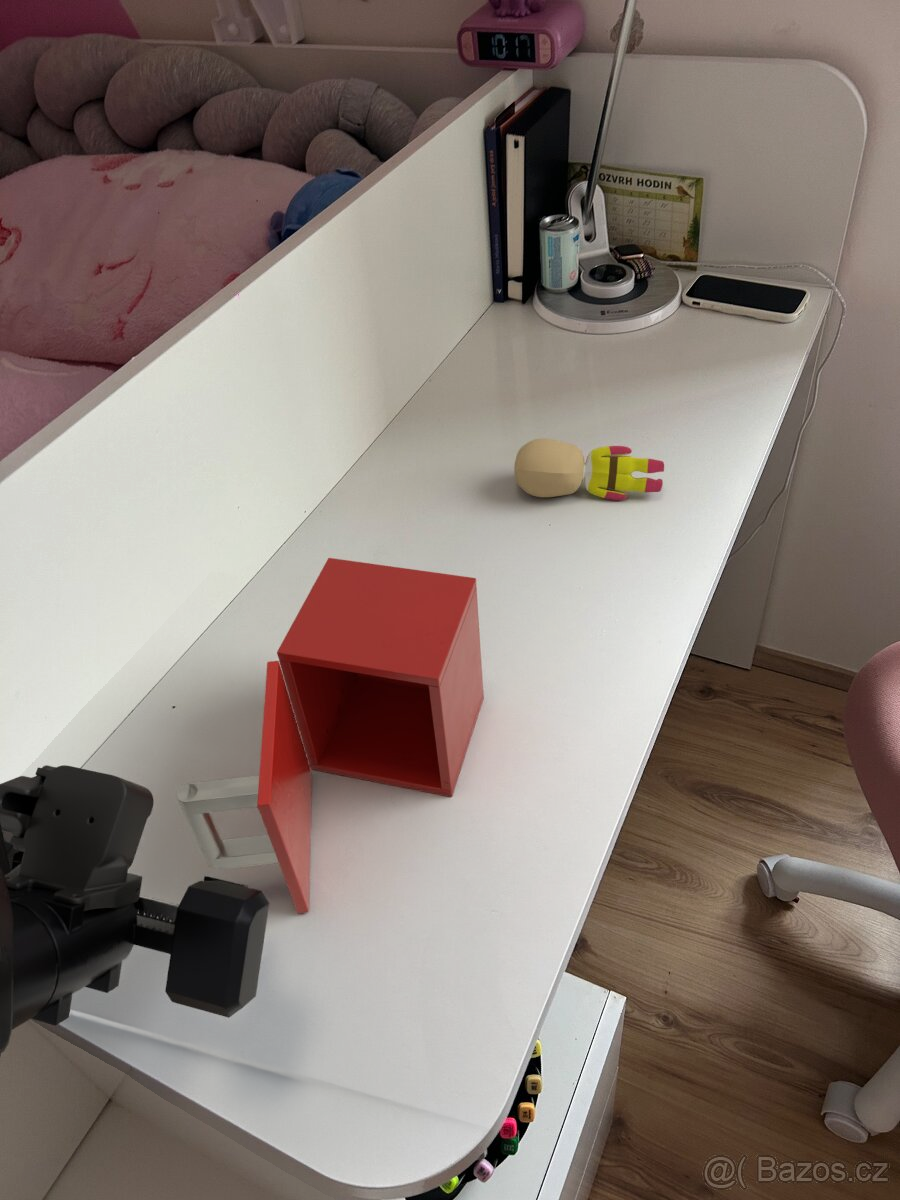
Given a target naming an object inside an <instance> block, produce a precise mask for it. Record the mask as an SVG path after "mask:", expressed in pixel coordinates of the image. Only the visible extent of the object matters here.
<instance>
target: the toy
mask: <svg viewBox="0 0 900 1200" xmlns="http://www.w3.org/2000/svg"><path fill="white" fill-rule="evenodd" d="M631 453H632V448H630V447H629V446H624V445H608V446H607V445H606V446H601V447H598V448H594V449H592V450H591V451H590V452H589V453H588V455H587V456H586V460H585V457H584V454H583V452H582V450H581V448H580V447H579V446H577V445H575V444H573V443H569V442H563V441H561V440H557V439H551V438H535V439H533V440H530V441H528V442H527V443H525V444H524V445H522V446H521V447H520V448H519V450H518V451H517V453H516V457H515V461H514V467H513V468H514V469H513V471H514V478H515V482H516V484H517V485H518V486H519V487H520V489H522V490H523V492H525V493H527V494H528V495H530V496H533V497H537V498H553V497H560V496H568V495H572V494H574V493H576V492H577V491H578V490H579V489H580V487H581V486H582V483H584V487H585V489H586V491H587V492H589V494H591V495H594V496H596V497H599V498H602V499H607V500H613V501H622V500H625V499H627V497H628V494H627V493H626V492H640V493H660V492H661V491H662V489H663V484H664V481H663V479H661V478H657V479H655V478H651V477H634V476H633V475H632V474H633V473H634V472H640V473H645V474H655V473H664V472H665V461H663V460H659V459H654V458H645V457H635V456H631V455H630V454H631Z"/></svg>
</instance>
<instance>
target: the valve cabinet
mask: <svg viewBox="0 0 900 1200" xmlns="http://www.w3.org/2000/svg"><path fill="white" fill-rule="evenodd" d="M324 563H325V564H324V565H323V567H322V569H321V571H320V572H319V575H318V576H317V578H316V580H315V582H314V583H313V585H312V587H311V589H310V591H309V593H308V594H307V596H306V598H305V600H304V602H303V604H302V605H301V607H300V609H299V611H298V613H297V615H296V616H295V618H294V620H293V622H292V624H291V626H290V627H289V629H288V631H287V632H286V635H285V636H284V639H282V642H281V644H280V646H279V647H278V649H277V651H276V654H277V658H278V661H279V664H280V667H281V671H282V674H283V677H284V681H285V684H286V688H287V691H288V695H289V698H290V701H291V705H292V708H293V712H294V715H295V719H296V722H297V726H298V729H299V732H300V736H301V739H302V743H303V746H304V750H305V753H306V756H307V760H308V763H309V767H310V770H314V771H319V772H324V773H329V774H333V775H339V776H344V777H348V778H355V779H359V780H364V781H369V782H373V783H380V784H385V785H390V786H395V787H398V788H399V787H400V788H403V789H409V790H415V791H420V792H425V793H430V794H435V795H440V796H446V797H450V798H452V797H453V795H454V793H455V789H456V785H457V783H458V781H459V776H460V774H461V770H462V767H463V764H464V762H465V758H466V754H467V752H468V748H469V745H470V742H471V740H472V737H473V733H474V731H475V727H476V725H477V720H478V717H479V714H480V711H481V708H482V705H483V702H484V699H485V696H484V695H485V694H484V680H483V666H482V665H483V663H482V650H481V634H480V633H481V632H480V620H479V619H480V618H479V603H478V589H477V578H476V577H470V576H465V575H457V574H450V573H442V572H435V571H428V570H422V569H421V570H419V569H414V568H407V567H406V568H405V567H399V566H391V565H384V564H376V563H370V562H362V561H356V560H355V561H354V560H347V559H341V558H335V557H334V558H333V557H328V558H327V559H326V561H325V562H324Z"/></svg>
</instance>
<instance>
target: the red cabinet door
mask: <svg viewBox="0 0 900 1200" xmlns="http://www.w3.org/2000/svg"><path fill="white" fill-rule="evenodd" d="M265 675H266V676H265V686H264V687H265V689H264V700H263V701H264V702H263V717H262V730H261V746H260V759H259V772H258V773H259V774H257V775H250V776H248V775H247V776H242V777H241V776H239V777H232V778H223V779H213V780H205V781H204V780H203V781H197V782H189V783H185V784H183V785H181V786H180V787H179V788H178V789H177V791H176V794H175V796H176V800H177V802H178V805H179V806H180V809H181V811H182V813H183V814H184V816H185V819H186V821H187V823H188V825H189V827H190V829H191V831H192V834H193V835H194V838H195V839H196V841H197V844H198V846H199V848H200V850H201V852H202V854H203V856H204V859H205V861H206V863H207V865H208V867H209V868H210V869H212V870H215V871H222V870H229V869H235V868H236V869H237V868H238V869H239V868H247V867H254V866H263V865H272V864H278V865H279V868H280V871H281V872H282V875H283V879H284V881H285V883H286V886H287V888H288V891H289V894H290V897H291V899H292V902H293V905H294V908H295V910H296V912H297V914H306V913H309V912H310V880H311V879H310V877H311V876H310V875H311V835H312V833H311V832H312V831H311V830H312V829H311V828H312V791H313V790H312V789H313V788H312V785H313V774H312V769H311V768H310V765H309V762H308V758H307V755H306V751H305V748H304V745H303V741H302V738H301V734H300V731H299V727H298V724H297V720H296V717H295V714H294V710H293V707H292V703H291V700H290V696H289V693H288V690H287V686H286V683H285V679H284V676H283V672H282V669H281V665H280V662H279V660H272V661H267V663H266V674H265ZM254 808H257V809H258V811H259V814H260V817H261V819H262V822H263V825H264V828H265V830H266V833H267V834H262V835H261V834H260V835H252V836H245V837H244V836H243V837H235V838H227V839H222V838H221V835H220V832H219V831H218V828H217V826H216V824H215V822H214V819H213V817H212V815H211V814H212V813H218V812H227V811H236V810H245V809H254Z"/></svg>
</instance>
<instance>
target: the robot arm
mask: <svg viewBox="0 0 900 1200" xmlns="http://www.w3.org/2000/svg"><path fill="white" fill-rule="evenodd" d="M153 808H154V795H153V793H152V792H151V790H150V789H149V788H148V787H145V786H143V785H140V784H138V783H136V782H132V781H130V780H127V779H125V778H122V777H120V776H116V775H113V774H110V773H104V772H100V771H95V770H90V769H85V768H80V767H77V766H72V765H65V764H64V765H58V766H52V765H47V764H46V765H43V766H42V767H39V766H38V767H37V768H36V772H35V776H32V777H31V776H25V775H21V776H20V775H19V776H16V777H15V778H12V779H10V780H7V781H4V782H2V783H0V1057H1V1055H2V1053H4V1052H5V1051H6V1049H7V1047H8V1045H9V1042H10V1039H11V1035H12V1031H13V1030H14V1029H16V1028H18V1027H20V1026H21V1025H23V1024H25V1023H26V1022H28V1021H30V1020H34V1021H38V1022H41V1023H45V1024H48V1025H51V1026H55V1027H56V1026H58V1025H59V1024H61V1023H62V1022H64V1021H66V1020H68V1019H69V1018H70V1013H71V1006H72V1000H73V994H75V993H77V992H78V991H80V990H82V989H83V988H88V989H91V990H95V991H98V992H102V993H105V994H108V993H110V992H111V991H113V990H115V989H116V988H118V987H119V984H120V978H121V971H122V963H123V961H124V960H126V959H127V958H128V957H129V956H130V954H131V952H132V950H133V949H134V946H137V947H141V948H145V949H147V950H148V949H149V950H152V951H157V952H159V953H163V954H168V955H169V961H168V969H167V975H166V983H165V990H164V992H165V994H166V995H167V997H168V999H169V1000H170V1001H171V1003H174V1004H177V1005H182V1006H185V1007H189V1008H192V1009H196V1010H199V1011H203V1012H207V1013H210V1014H214V1015H217V1016H221V1017H225V1018H231V1017H232V1016H234V1015H235V1014H236V1013H237V1012H239V1011H241V1010H242V1009H243V1008H244V1007H246V1005H247V1004H249V1003H250V1002H251V1001H252V1000H253V999H255V998H256V997H257V992H258V991H257V990H258V984H259V979H260V978H259V977H260V972H261V971H260V969H261V964H262V956H263V949H264V942H265V935H266V930H267V929H266V928H267V922H268V915H269V909H270V902H269V900H268V899H267V897H266V895H265V894H264V892H263V890H261V889H256V888H252V887H249V885H248V884H245V883H242V884H241V883H237V882H233V881H229V880H224V879H221V878H216V877H212V876H207V875H204V877H203V880H198V881H197V882H195V883H193V884H191V885H188V887H187V889H186V890H185V892H184V895H183V897H182V898H181V901H180V903H179V904H178V903H174V902H171V901H166V900H162V899H158V898H154V897H150V896H147V895H143V894H141V890H142V885H143V884H142V883H143V875H138V874H134V873H131V872H129V869H130V868H131V867H132V865H133V862H134V860H135V857H136V854H137V851H138V849H139V846H140V842H141V839H142V836H143V833H144V830H145V828H146V827H145V826H146V824H147V822H148V821H147V820H148V818H149V817H150V816H151V814H152V811H153Z"/></svg>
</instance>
